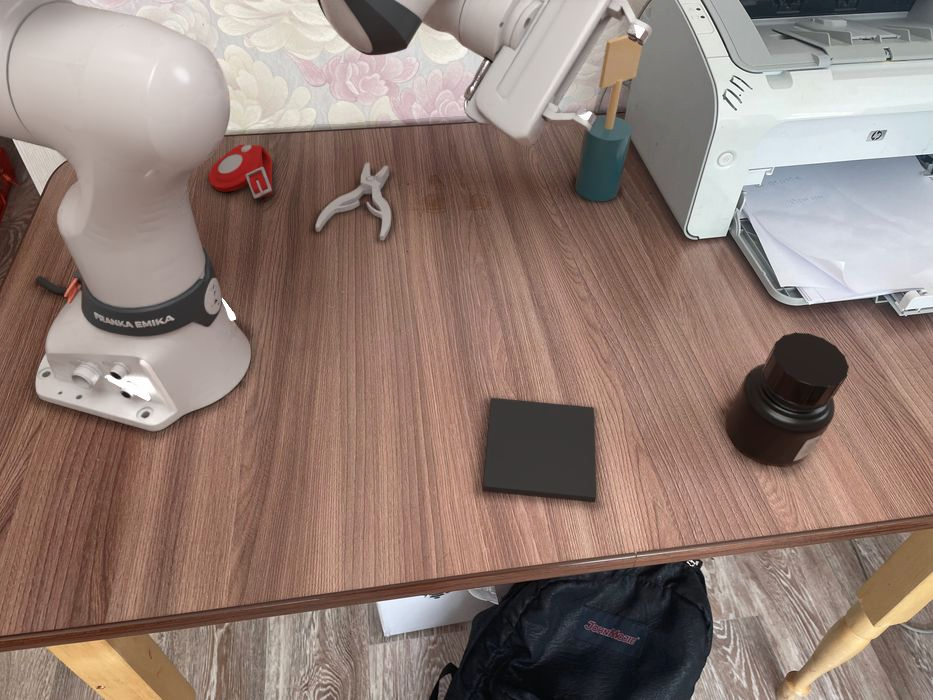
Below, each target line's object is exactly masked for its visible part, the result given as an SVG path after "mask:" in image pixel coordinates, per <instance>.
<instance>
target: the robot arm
mask: <svg viewBox="0 0 933 700" xmlns="http://www.w3.org/2000/svg"><path fill="white" fill-rule="evenodd" d="M316 2H317V4H318V6H319V9H320V11H321V12H322V15H323V16H324V17H325V19H326V20H327V22H328V23H329V24H330V26H331V28H332V29H333V30H334V31H335V32H336V34H337V35H338V36H339V37H340V38H341V39H342V40H343V41H344V42H345V43H347V44H348V45H350V46H351V47H352V48H354V49H355V50H356V51H358V52H360V53H361V54H363V55H365V56H382V55H383V56H384V55H389V54H393V53H398V52H401V51H405V50H407V48H408V47H409V45H410V44H411V42H412V40H413V39H414V37H415V36H416V34H417V32H418V30H419V28H420V27H421V26H422V24H424V25H426V26H427V27H429V28H430V29H432V30H434V31H436V32H439V33H446V34H449V35H451V37H453V38H454V39H455V40H456V41H457V42H458V43H459V44H460V45H461V46H462V47H464V48H466V49H467V50H469V51H471V52H473V53H474V54H476V55H478V56H479V57H481V58H482V59H483V60H482V62H481V63H480V65H479V67H478V68H477V70H476V71H475V74H474V77H473V79H472V81H471V82H470V84H469V85H468V86H467V87H466V89H465V91H464V93H463V98H464V101H463V111H464V113H465V115H466V116H467V118H469V119H471V120H472V121H474V122H475V123H477V124H479V125H482V126H488V125H491V124H492V126H494V127H495V128H496V129H497V130H498V131H500V132H501V133H502V134H504V136H505V137H507V138H509V140H511V141H512V142H514V143H515V144H517V145H519V146H520V147H521V148H524V147H529V146H534V145H535V144H536V142H537V141H538V139H539V137H540V135H541V134H542V133H543V131H544V129H545V128H546V126H547V125H548V122H549V123H551V124H552V125H554V126H555V127H562V126H576V125H577V126H578V127H579V128H582V129H585V130H587V131H590V130H591V128H592V126H593V125H594V123H595V122H596V120H597V117H596V116H597V115H596V114H595V113H593V112H592V111H590V110H587V109H586V108H585V107H583V106H581V105H580V106H579V107H578V109H577V110H576V112H563V111H562V110H561V108H559V104H560V103H561V102H562V100H563V98H564V96H565V95H566V93H567V91H568V90H569V89H570V87H571V85H572V84H573V82H574V80H575V79H576V77H577V75H578V74H579V72H580V71H581V69H582V67H583V66H584V65H585V63H586V61H587V59H588V58H589V56H590V54H591V53H592V51H593V49H594V48H595V46H596V44H597V43H598V41H599V40H600V38H601V36H602V35H603V33H604V32H605V30H606V29H607V27H608V25H609V24H610V22H611V20H612V19H613V18H614V19H616V20H618V21H621V22H622V21H623V19H624V18H625V19H626V21H627V23H628V25H629V27H628V28H627V30H626V35H628V38H629V39H630V40H632V41H634V42H638V44H639V45H642V47H643V46H644V45H645V43H646V42H647V41H648V39H649V38H650V37H651V35H652V33H653V29H652V27H651V26H650V25H649V24H648V23H646V22H644V21H642V20H640V19H638V18H637V16H636V15H635V13H634V11H633V8H632V7H631V5H630V3H629V1H628V0H316ZM228 85H229V84H228V81H227V78H226V76H225V73H224V71H223V68H222V66H221V65H220V62H219V61H218V59H217V58H216V56H215V55H214V53H213V52H212V50H210V49H209V47H207V46H206V45H205V44H203V43H201V42H200V41H197V40H196V39H194V38H192V37H190V36H187V35H186V34H184V33H181V32H179V31H177V30H175V29H172V28H170V27H168V26H166V25H163V24H161V23H158V22H156V21H154V20H152V19H150V18H147V17H144V16H140V15H139V16H138V15H133V14H128V13H123V12H119V11H113V10H108V9H103V8H98V7H93V6H87V5H82V4H78V3H75V2H74V1H73V0H0V137H3V138H8V139H11V140H15V141H19V142H22V143H27V144H30V145H35V146H39V147H43V148H47V149H50V150H53V151H56V152H57V153H59V154H60V155H61V156H62V158H64V159H65V160H67V162H68V163H69V165H71V167H72V168H73V170H74V171H75V174H76V178H77V180H75V182H74V183H73V184H72V185H71V186H70V187H69V188H68V190H67V191H66V192H65V193H64V196H63V198H62V200H61V202H60V204H59V207H58V210H57V213H56V225H57V228H58V232H59V234H60V237H61V238H62V240H63V242H64V244H65V246H66V248H67V249H68V252H69V253H70V255H71V257H72V260H73V261H74V263H75V265H76V267H77V269H76V270H75V272H74V273H73V280H72V282H71V284H70V285H69V286H68V287H67V286H66V287H61V286H58V285H55V284H54V283H52V282H51V281H49V280H48V279H46V278H45V277H44V276H42V275H38V276H36V277H35V282H36V284H37V283H38V284H39V285H40V286H42V287H43V288H45V289H46V290H48V291H49V292H52V293H53V294H56V295H59V296H64V298H67V297H68V298H67V302H66V303H65V304H64V306H63V307H62V308H61V309H60V311H59V312H58V314H57V315H56V316H55V318H54V320H53V322H52V323H51V326H50V328H49V330H48V332H47V336H46V339H45V345H44V352H45V353H44V355H43V357H42V360H41V361H40V363H39V366H38V369H37V372H36V376H35V383H34V386H35V391H36V394H37V396H38V399H40V400H41V401H44V402H47V403H50V404H53V405H57V406H61V407H63V408H67V409H71V410H74V411H79V412H82V413H85V414H89V415H93V416H96V417H100V418H103V419H106V420H110V421H113V422H117V423H121V424H124V425H127V426H131V427H135V428H138V429H141V430H144V431H149V432H160V431H162V430H164V429H166V428H167V427H169V426H171V425H172V424H173V423H175V422H177V421H178V420H179V419H180V418H181V417H183V416H185V415H187V414H189V413H191V412H195V411H197V410H200V409H203V408H205V407H207V406H210V405H211V404H213V403H216V402H217V401H219V400H220V399H222V398H223V397H225V396H226V395H228V394H229V393H230V392H232V391H233V390H234V389H235V388H236V386H238V384H239V383H240V382H241V381H242V380H243V378H244V376H245V375H246V373H247V372H248V369H249V366H250V363H251V358H252V350H251V349H252V348H251V344H250V342H249V339H248V337H247V336H246V334H245V333H244V332H243V331H242V329H240V327H239V326H238V324H237V323H236V321H235V320H236V319H237V318H236V315H235V313H234V311H232V309H231V308H230V307H229V305H228V304H227V302H226V301H225V300H224V299H223V296H222V290H221V287H220V282H219V279H218V276H217V273H216V270H215V267H214V263H213V262H212V259H211V256H210V253H209V251H208V249H207V248H206V246H205V245H203V243H202V241H201V238H200V236H199V232H198V228H197V224H196V221H195V217H194V214H193V211H192V206H191V202H190V196H189V184H190V183H189V182H190V177H191V174H192V173H193V171H195V170H196V169H197V168H199V167H201V166H202V165H203V164H205V162H207V161H208V160H209V159H210V158H211V157H212V156H213V155H214V154H215V152H216V151H217V149H218V148H219V147H220V146H221V144H222V141H224V138H225V136H226V132H227V130H228V126H229V122H230V116H231V96H230V89H229V86H228Z"/></svg>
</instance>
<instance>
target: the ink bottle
mask: <svg viewBox="0 0 933 700" xmlns="http://www.w3.org/2000/svg"><path fill="white" fill-rule="evenodd" d="M849 369H850V366H849V364H848V361H847V359H846V355H845V354H844V353H843V352H842V351H841V350H840V349H839V348H838V346H836V344H833V343H831V342H830V341H828V340H827V339H825V338H824V337H821V336H819V335H818V336H817V335H814V334H812V333H809V332H808V333H806V332H792V333H789V334H788V333H787V334H784V335H782V336H781V337H780V338H779V339H778V340H776V341H775V343H774V345H773V347H772V348H771V350H770V353H769V354H768V356H767V358H766V360H765V362H764V363H761V364H758V365H757V366H755V367H753V368H752V369H750V370H749V371H748V372H747V374H746V376H745V377H744V379H743V381H742V383H741V384H740V387H739V389H738V391H737V392H736V395H735V396H734V399H733V401H732V403H731V405H730V407H729V408H728V410H727V414H726V419H725V421H726V429H727V432H728V436H729V437H730V439H731V441H732V442H733V444H734V445H735V446H736V447H737V449H738V450H740V451H741V452H742V453H743V454H745V455H746V456H748V457H749V458H751V459H753V460H755V461H757V462H760V463H763V464H766V465H771V466H781V467H783V466H792V465H795V464H799V463H800V462H802V461H803V460H805V459H806V458H807V457H808V456H809V454H810V453H811V452H812V451H813V450H814V448H815V447H816V445H817V443H818V442H819V441H820V439H822V436H823V435H824V434H825V433H826V431H827V430H828V427H829V426H830V424H831V422H832V421H833V418H834V415H835V408H836V407H835V400H834V397H835V395H836V394H837V393H838V391H839V390H840V389H841V386H842V385H843V383H845V381H846V379H847V378H848V373H849Z"/></svg>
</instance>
